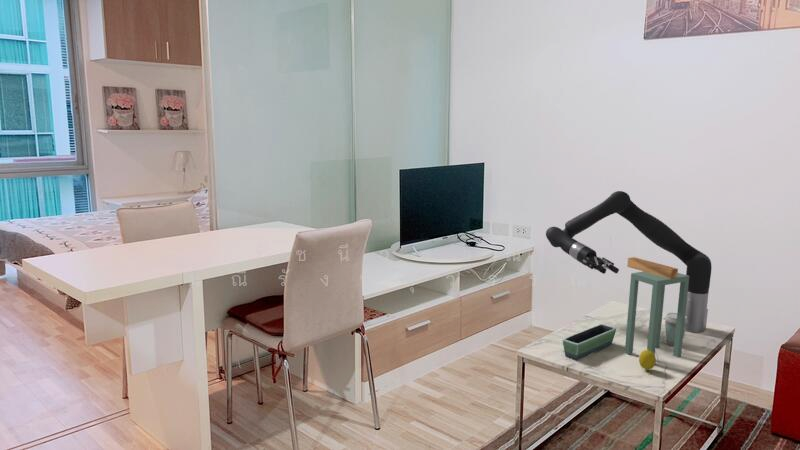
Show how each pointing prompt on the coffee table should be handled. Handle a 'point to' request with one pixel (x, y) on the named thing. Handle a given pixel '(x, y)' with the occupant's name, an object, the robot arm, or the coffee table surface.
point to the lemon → (647, 359)
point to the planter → (588, 341)
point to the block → (652, 268)
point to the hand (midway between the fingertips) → (611, 271)
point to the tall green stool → (656, 310)
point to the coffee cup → (672, 327)
